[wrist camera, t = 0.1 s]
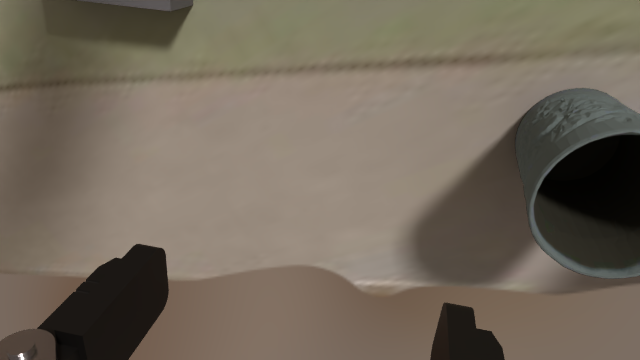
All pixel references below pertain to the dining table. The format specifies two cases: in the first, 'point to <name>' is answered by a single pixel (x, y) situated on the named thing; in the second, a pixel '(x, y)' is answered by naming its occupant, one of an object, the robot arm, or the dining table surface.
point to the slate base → (149, 3)
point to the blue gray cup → (583, 181)
